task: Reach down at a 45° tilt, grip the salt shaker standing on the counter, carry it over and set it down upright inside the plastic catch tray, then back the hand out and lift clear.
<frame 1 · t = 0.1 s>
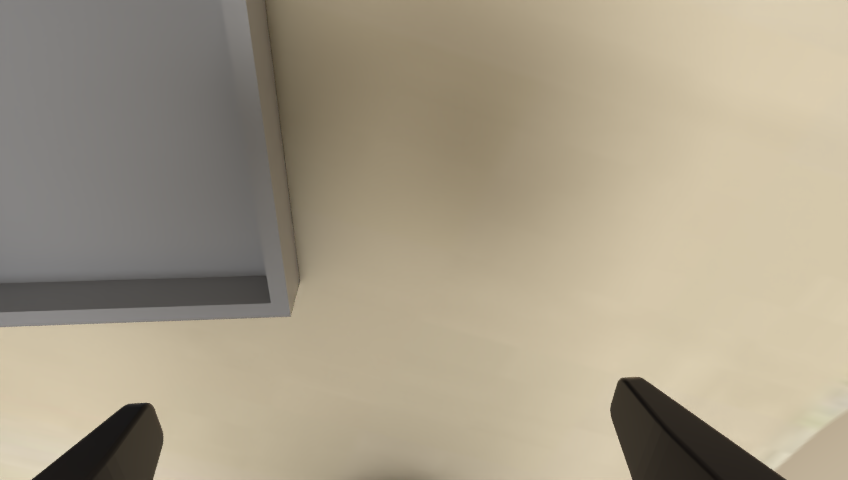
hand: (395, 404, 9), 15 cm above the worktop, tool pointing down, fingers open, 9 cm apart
catch tray: (82, 125, 20), on the worktop
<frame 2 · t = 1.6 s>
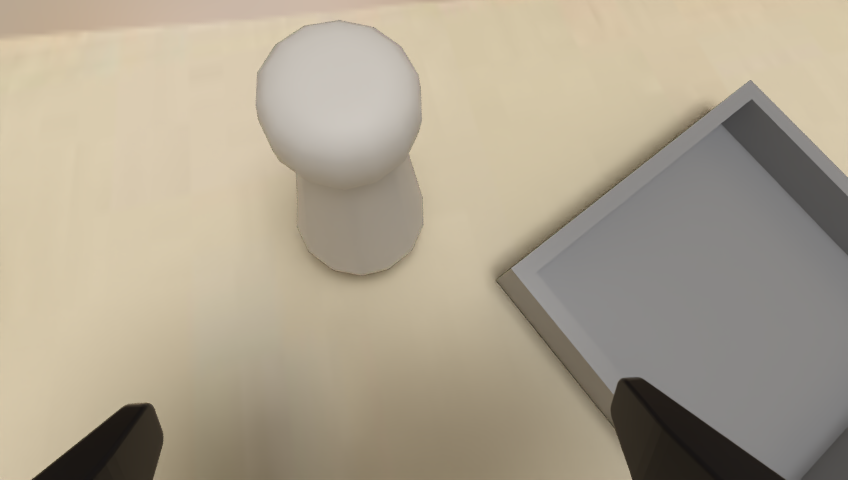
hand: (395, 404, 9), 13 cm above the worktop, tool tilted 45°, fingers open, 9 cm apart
salt shaker: (363, 228, 24), on the worktop
catch tray: (719, 311, 24), on the worktop
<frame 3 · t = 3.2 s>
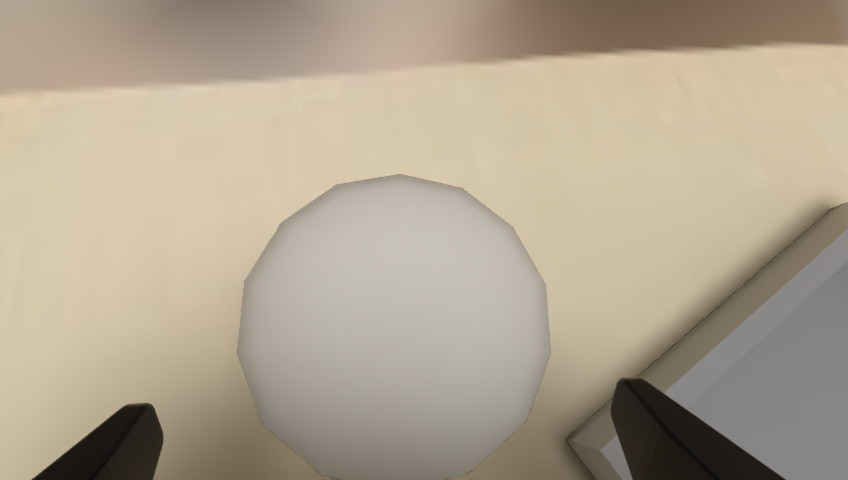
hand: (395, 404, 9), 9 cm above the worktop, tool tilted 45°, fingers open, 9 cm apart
salt shaker: (391, 360, 18), on the worktop
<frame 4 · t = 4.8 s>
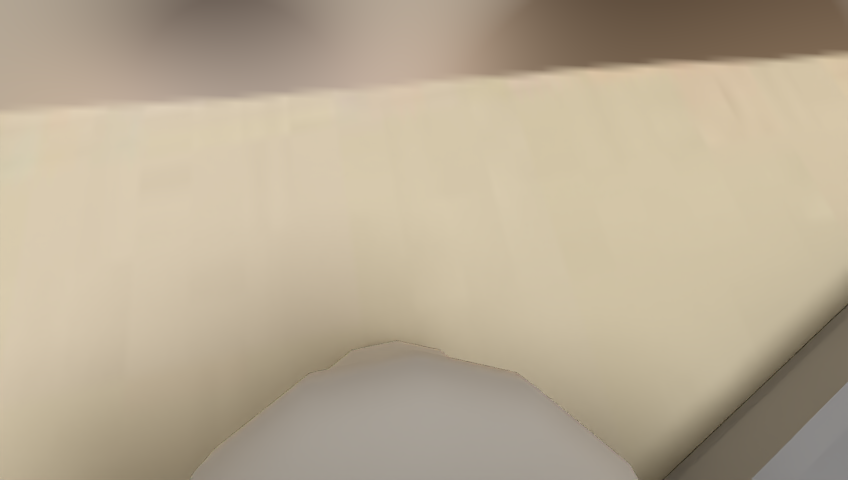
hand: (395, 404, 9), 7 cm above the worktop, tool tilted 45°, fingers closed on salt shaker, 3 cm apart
salt shaker: (393, 438, 15), on the worktop, touching gripper
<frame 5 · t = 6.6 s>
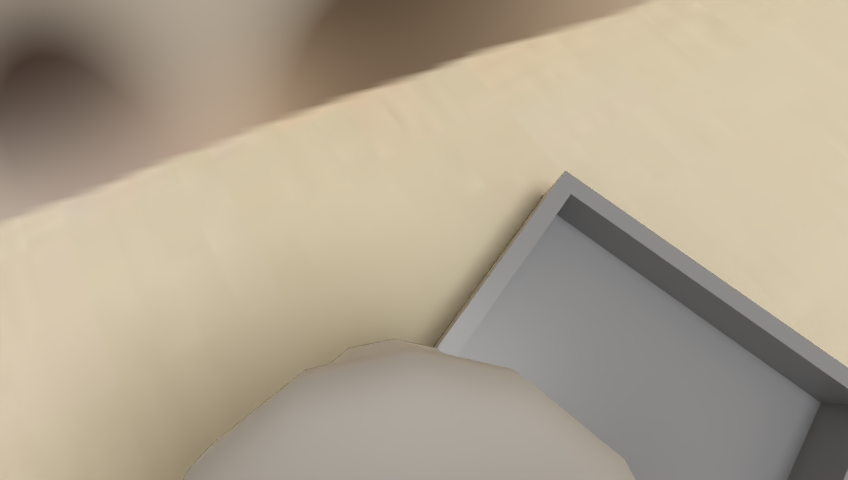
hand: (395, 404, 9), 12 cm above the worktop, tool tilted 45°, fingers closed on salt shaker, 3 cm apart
salt shaker: (390, 436, 15), point 5 cm above the worktop, touching gripper
catch tray: (598, 438, 21), on the worktop
when the fingers open (8 cm above the worktop, at t = 8.5 s): salt shaker drops 1 cm, resting on catch tray.
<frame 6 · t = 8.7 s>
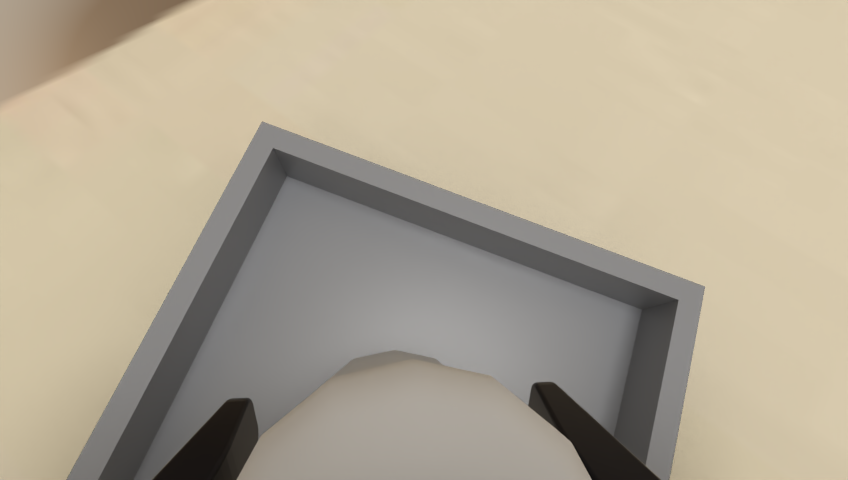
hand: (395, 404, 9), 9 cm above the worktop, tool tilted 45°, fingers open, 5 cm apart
salt shaker: (392, 441, 16), resting on catch tray
catch tray: (393, 431, 17), on the worktop
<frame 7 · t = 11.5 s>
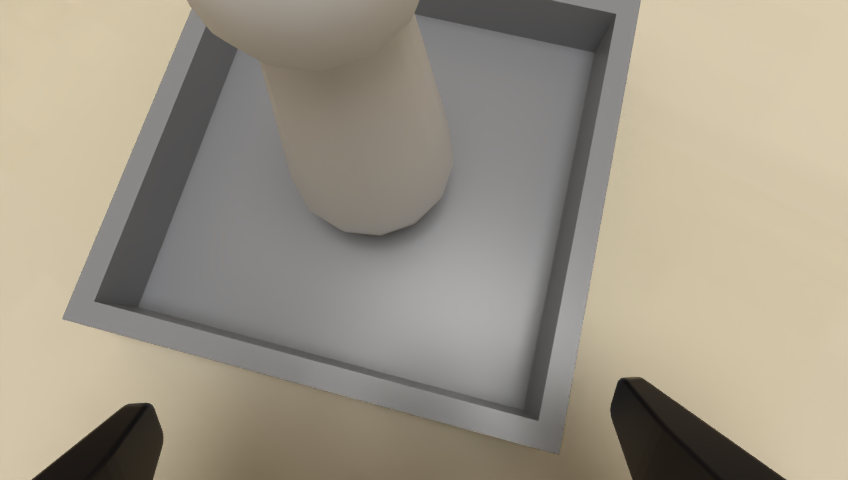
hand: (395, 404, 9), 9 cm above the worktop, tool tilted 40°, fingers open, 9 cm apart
salt shaker: (379, 180, 19), resting on catch tray
catch tray: (380, 177, 19), on the worktop
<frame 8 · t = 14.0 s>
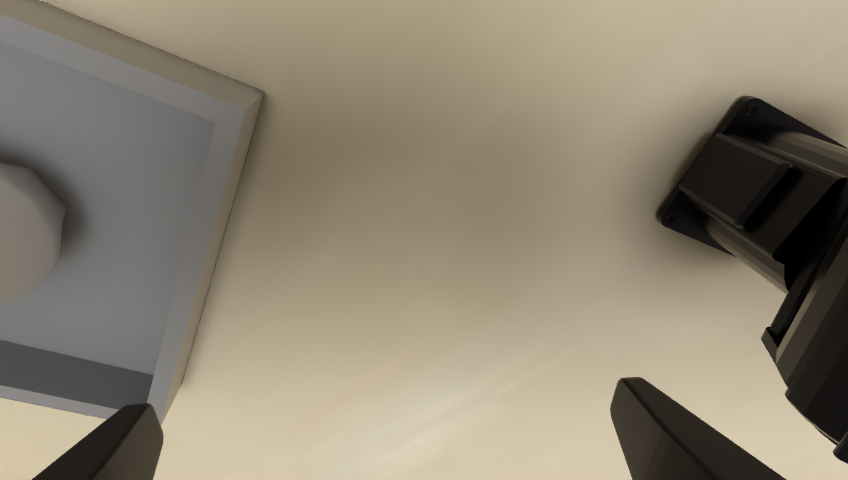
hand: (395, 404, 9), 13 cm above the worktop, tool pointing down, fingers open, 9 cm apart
salt shaker: (14, 203, 19), resting on catch tray
catch tray: (14, 199, 20), on the worktop
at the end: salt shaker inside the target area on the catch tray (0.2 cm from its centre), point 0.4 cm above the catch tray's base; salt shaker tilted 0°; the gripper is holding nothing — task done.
